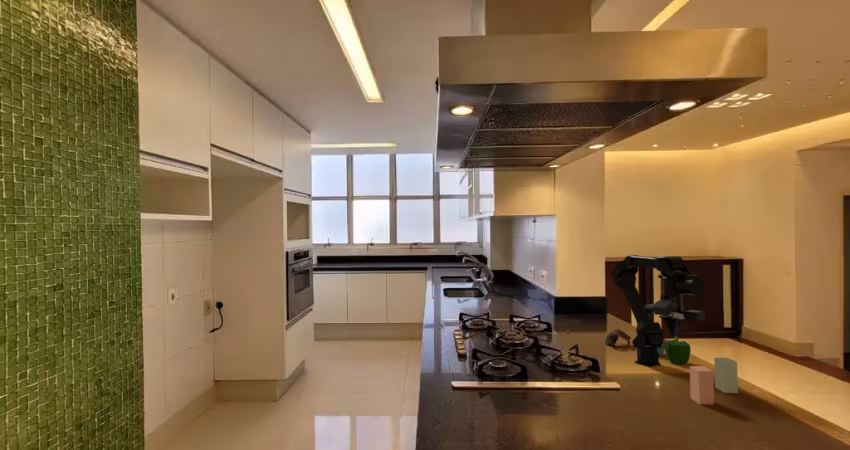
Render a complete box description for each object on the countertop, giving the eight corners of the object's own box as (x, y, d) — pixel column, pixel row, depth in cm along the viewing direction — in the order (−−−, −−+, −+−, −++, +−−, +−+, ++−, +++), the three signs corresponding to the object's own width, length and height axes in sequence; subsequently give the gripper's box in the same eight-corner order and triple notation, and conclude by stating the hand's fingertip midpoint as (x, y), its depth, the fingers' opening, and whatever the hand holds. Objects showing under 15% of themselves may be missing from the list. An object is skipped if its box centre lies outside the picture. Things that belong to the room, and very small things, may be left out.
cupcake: (643, 350, 177) (642, 321, 177) (666, 351, 174) (665, 322, 174) (646, 356, 169) (646, 326, 169) (670, 357, 166) (670, 327, 166)
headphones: (606, 342, 192) (616, 327, 191) (626, 355, 186) (636, 339, 185) (598, 340, 184) (608, 324, 183) (617, 354, 177) (628, 337, 176)
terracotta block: (690, 398, 126) (689, 366, 126) (704, 398, 125) (703, 366, 126) (699, 404, 121) (698, 371, 121) (713, 404, 121) (713, 371, 121)
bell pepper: (693, 367, 155) (693, 339, 155) (668, 365, 157) (667, 338, 157) (687, 360, 163) (686, 334, 163) (663, 358, 165) (662, 333, 165)
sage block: (715, 387, 134) (714, 357, 134) (728, 387, 134) (727, 357, 134) (724, 392, 129) (723, 361, 130) (737, 393, 129) (737, 361, 129)
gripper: (633, 290, 152) (634, 334, 152) (686, 297, 136) (687, 346, 135) (652, 288, 157) (653, 330, 157) (705, 294, 141) (706, 341, 140)
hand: (673, 336), depth 147 cm, fingers closed
